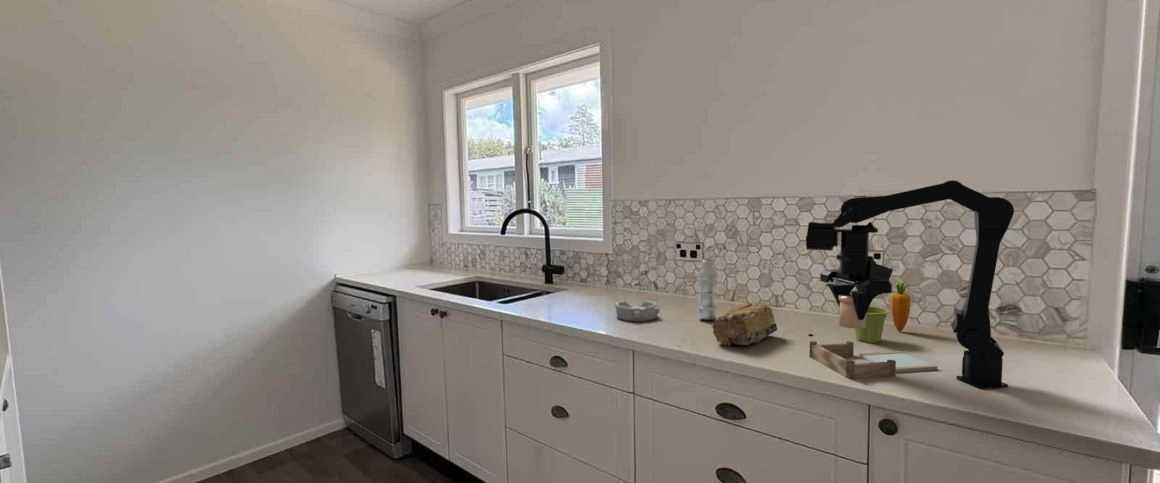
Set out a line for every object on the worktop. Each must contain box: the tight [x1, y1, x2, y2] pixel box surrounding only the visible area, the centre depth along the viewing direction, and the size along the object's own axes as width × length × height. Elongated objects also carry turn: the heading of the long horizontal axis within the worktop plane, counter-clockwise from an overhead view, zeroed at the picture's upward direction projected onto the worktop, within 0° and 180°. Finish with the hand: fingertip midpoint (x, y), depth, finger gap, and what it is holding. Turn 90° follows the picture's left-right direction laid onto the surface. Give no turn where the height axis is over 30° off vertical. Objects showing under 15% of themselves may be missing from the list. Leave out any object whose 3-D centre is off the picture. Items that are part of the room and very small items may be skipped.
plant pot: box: [854, 305, 890, 344], centre depth 143 cm, size 9×9×9 cm
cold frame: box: [809, 340, 897, 380], centre depth 123 cm, size 16×11×4 cm
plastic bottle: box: [696, 258, 719, 321], centre depth 170 cm, size 6×7×20 cm
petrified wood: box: [712, 302, 778, 346], centre depth 147 cm, size 19×13×10 cm
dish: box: [614, 300, 661, 322], centre depth 177 cm, size 14×14×5 cm
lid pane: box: [858, 350, 939, 373], centre depth 124 cm, size 12×11×1 cm
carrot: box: [890, 281, 911, 333], centre depth 151 cm, size 5×5×15 cm
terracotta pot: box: [838, 293, 866, 329], centre depth 122 cm, size 6×6×7 cm
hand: (852, 316), depth 122 cm, fingers closed on terracotta pot, 6 cm apart
